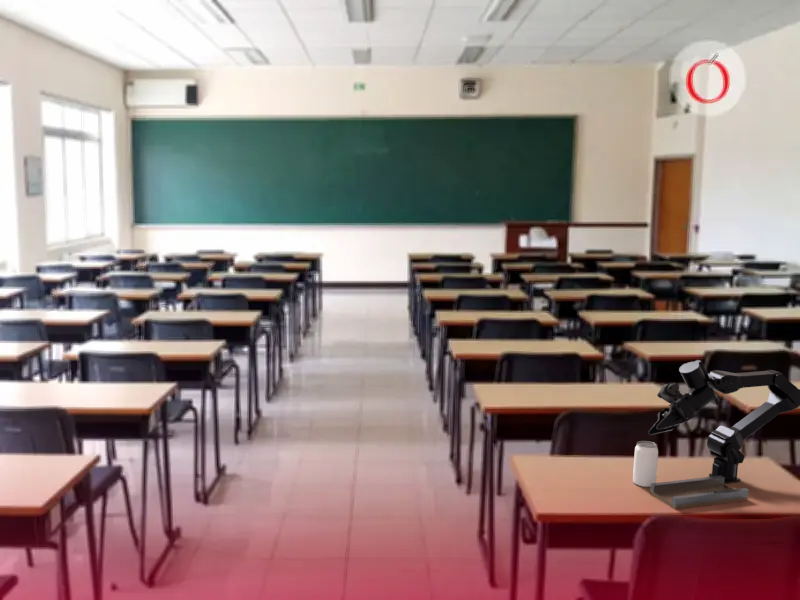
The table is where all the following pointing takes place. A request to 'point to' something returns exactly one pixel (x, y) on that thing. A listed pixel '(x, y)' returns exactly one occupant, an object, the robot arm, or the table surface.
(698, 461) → the table surface
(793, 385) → the robot arm
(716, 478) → the track
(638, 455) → the can
